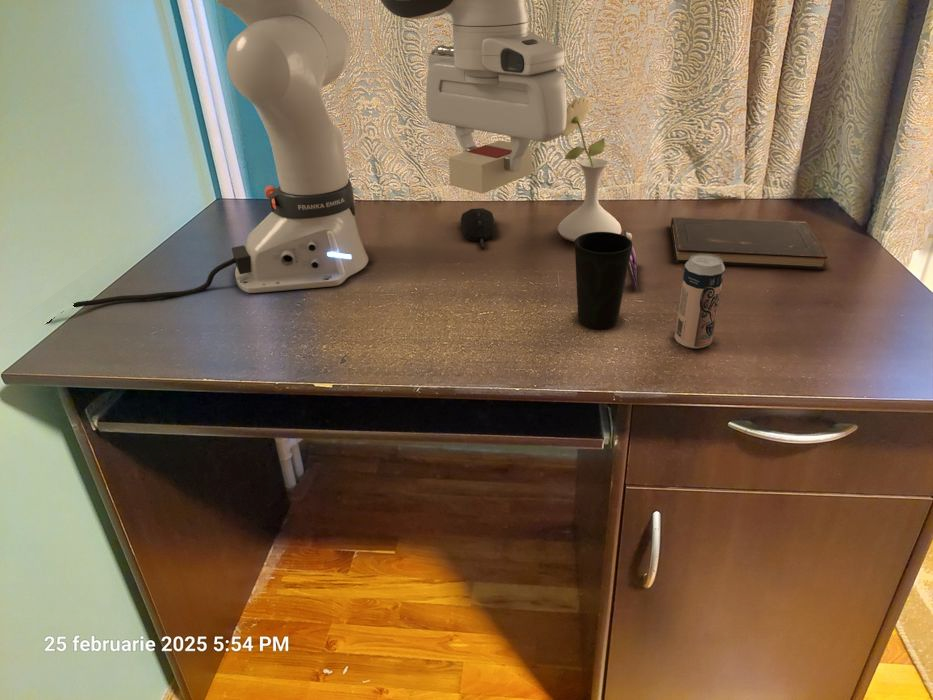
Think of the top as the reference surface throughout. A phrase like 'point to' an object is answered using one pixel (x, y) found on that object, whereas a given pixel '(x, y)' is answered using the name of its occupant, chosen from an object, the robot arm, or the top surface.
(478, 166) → the packet
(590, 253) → the cup
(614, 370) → the top surface
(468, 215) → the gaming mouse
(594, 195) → the flower in vase
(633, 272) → the purple toy figure frame
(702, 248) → the hardcover book
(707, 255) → the beer can
